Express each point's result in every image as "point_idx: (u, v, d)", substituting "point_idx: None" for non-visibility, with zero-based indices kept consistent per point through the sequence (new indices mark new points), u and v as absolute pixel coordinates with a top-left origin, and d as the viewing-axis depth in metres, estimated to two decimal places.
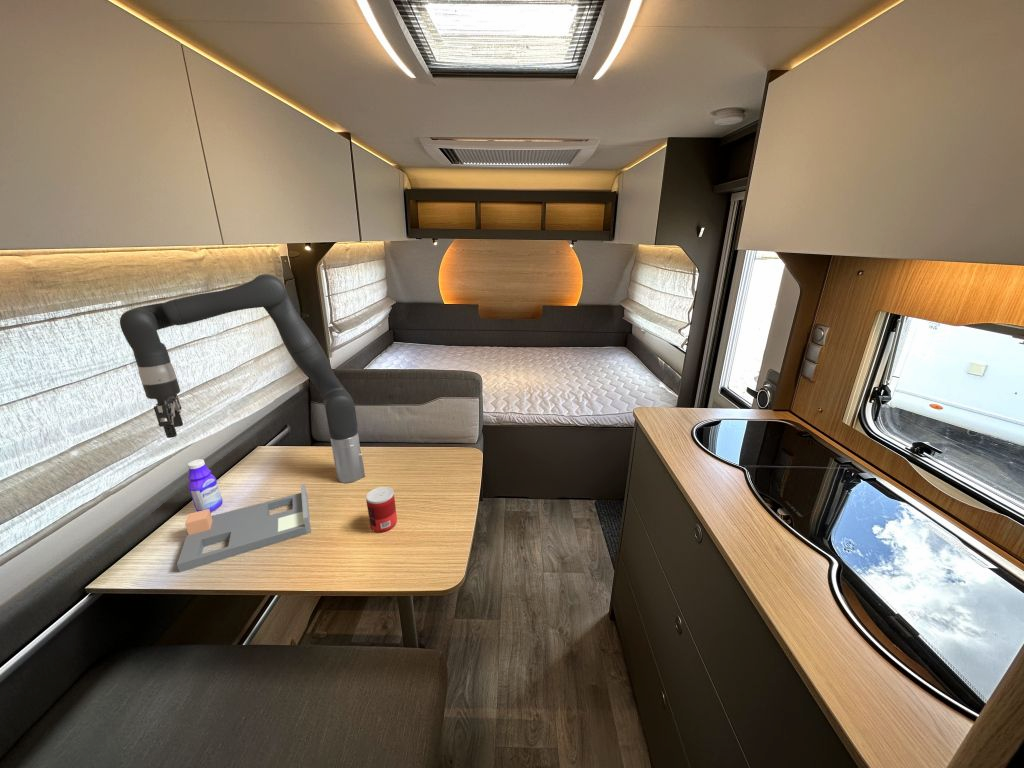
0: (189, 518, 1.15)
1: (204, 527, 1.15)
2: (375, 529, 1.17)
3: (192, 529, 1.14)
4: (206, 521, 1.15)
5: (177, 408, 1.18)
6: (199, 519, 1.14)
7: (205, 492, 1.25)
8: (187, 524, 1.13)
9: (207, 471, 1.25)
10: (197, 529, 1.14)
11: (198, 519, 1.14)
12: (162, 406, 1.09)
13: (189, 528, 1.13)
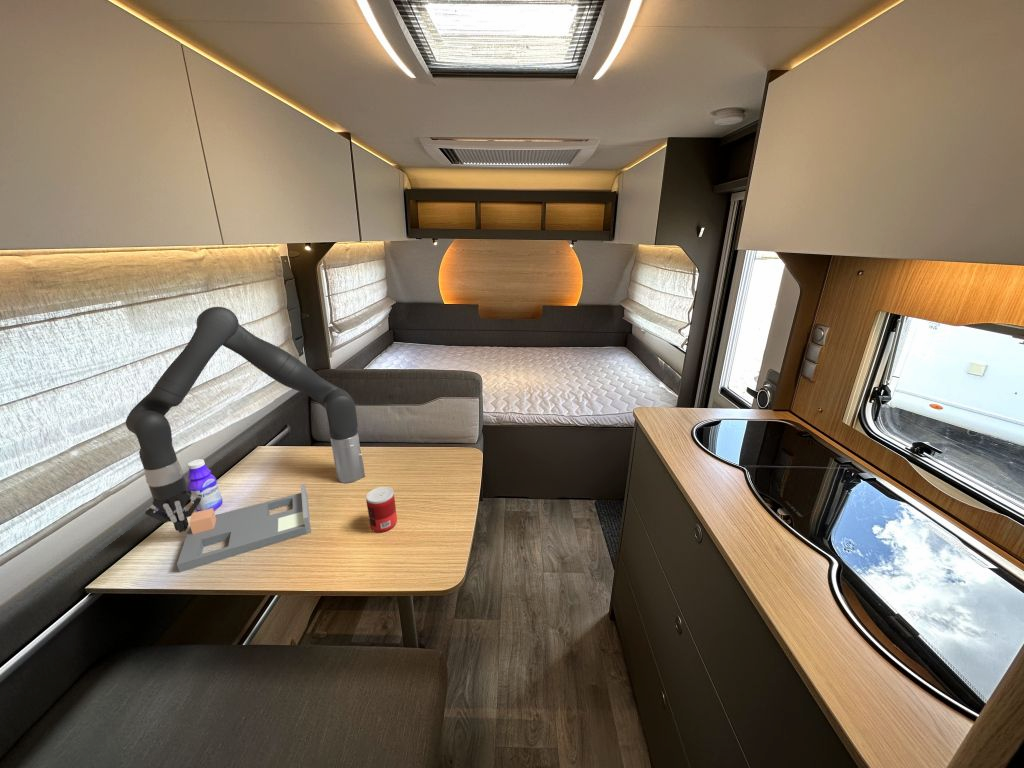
0: (193, 517, 1.15)
1: (208, 526, 1.16)
2: (375, 529, 1.17)
3: (196, 527, 1.14)
4: (210, 520, 1.15)
5: None
6: (203, 518, 1.15)
7: (205, 492, 1.25)
8: (191, 523, 1.13)
9: (207, 471, 1.25)
10: (201, 528, 1.15)
11: (202, 518, 1.15)
12: (200, 497, 1.15)
13: (193, 527, 1.14)
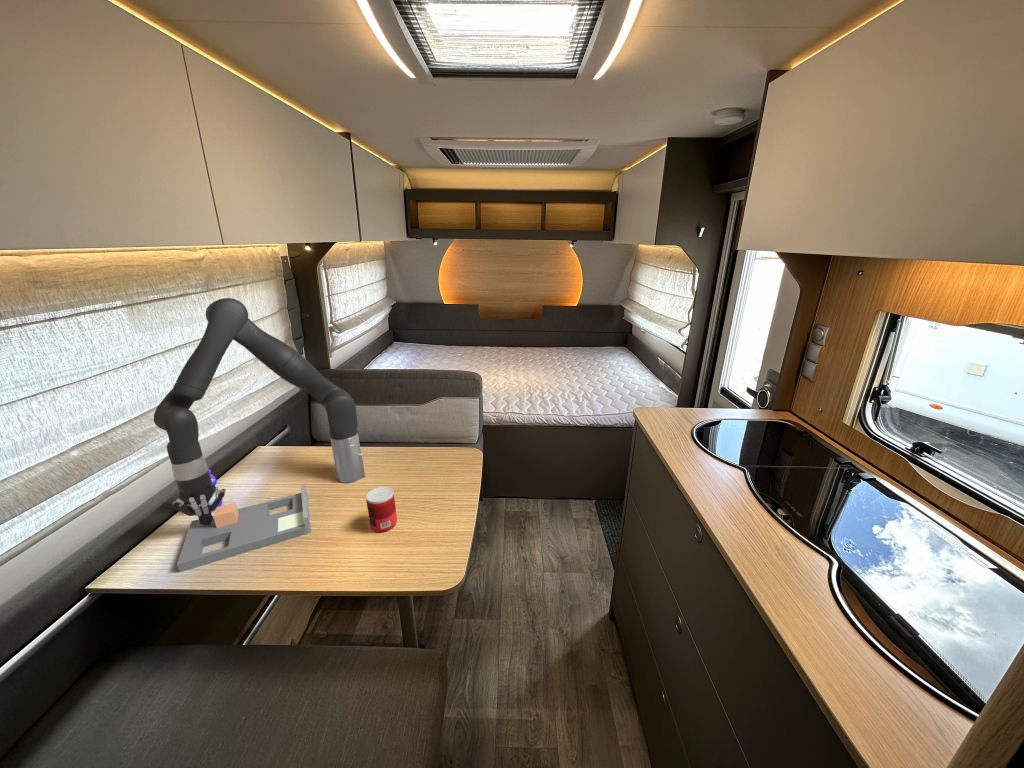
0: (217, 511, 1.18)
1: (231, 520, 1.18)
2: (375, 529, 1.17)
3: (219, 521, 1.17)
4: (233, 514, 1.18)
5: None
6: (226, 512, 1.17)
7: None
8: (215, 517, 1.16)
9: None
10: (225, 521, 1.17)
11: (225, 512, 1.17)
12: (224, 491, 1.18)
13: (217, 521, 1.16)
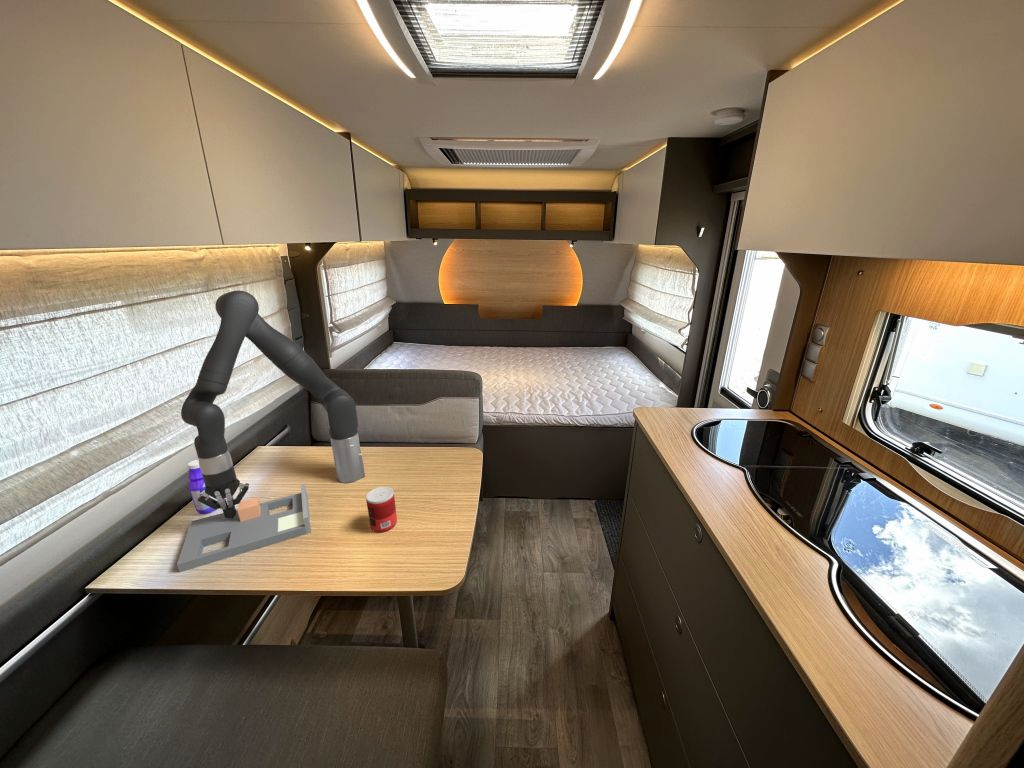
0: (241, 505, 1.20)
1: (254, 514, 1.21)
2: (375, 529, 1.17)
3: (243, 515, 1.19)
4: (256, 508, 1.20)
5: None
6: (250, 506, 1.20)
7: None
8: (239, 511, 1.18)
9: None
10: (248, 515, 1.20)
11: (249, 506, 1.20)
12: (248, 485, 1.20)
13: (241, 515, 1.19)
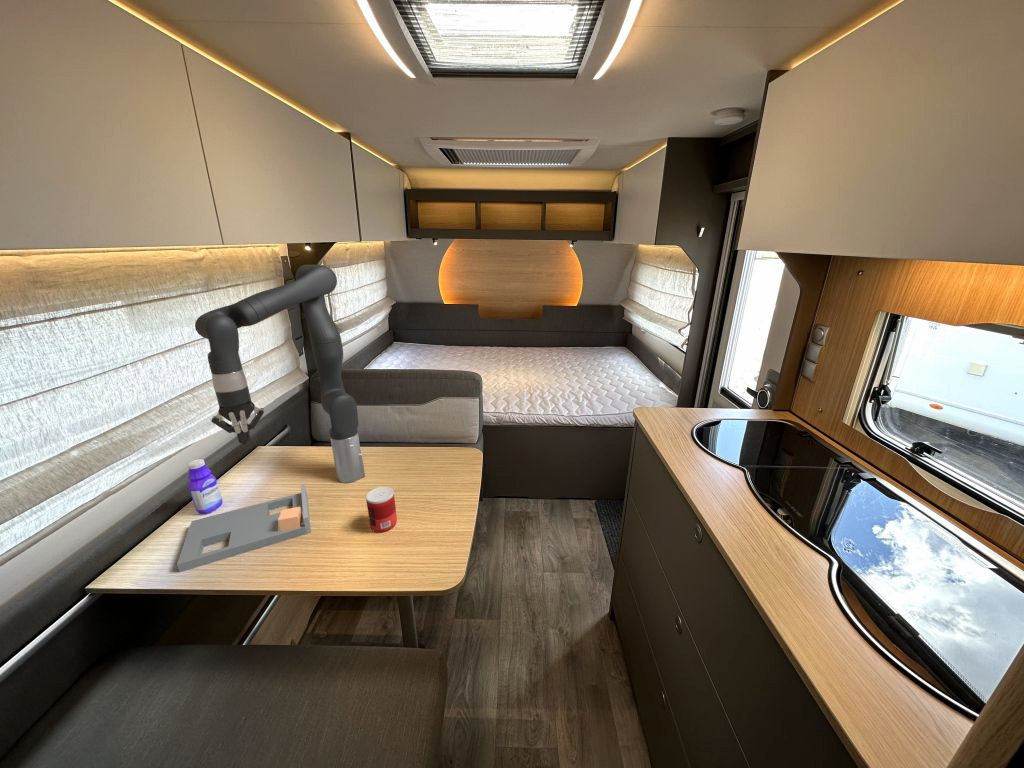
0: (282, 515, 1.16)
1: (295, 525, 1.16)
2: (375, 529, 1.17)
3: (284, 525, 1.15)
4: (297, 519, 1.15)
5: None
6: (291, 517, 1.15)
7: (205, 492, 1.25)
8: (280, 521, 1.14)
9: (207, 471, 1.25)
10: (288, 526, 1.15)
11: (290, 516, 1.15)
12: (263, 410, 1.15)
13: (282, 525, 1.14)
